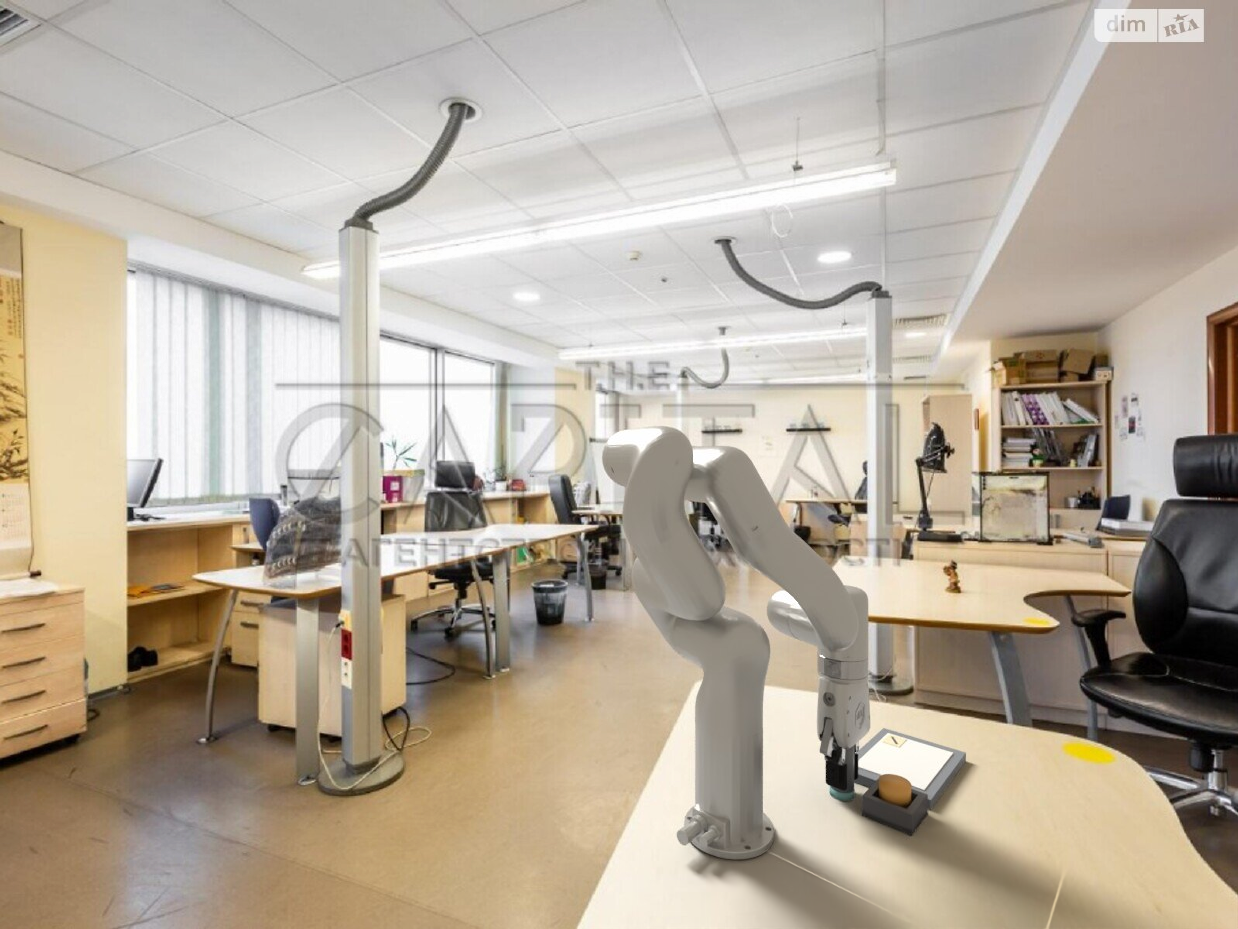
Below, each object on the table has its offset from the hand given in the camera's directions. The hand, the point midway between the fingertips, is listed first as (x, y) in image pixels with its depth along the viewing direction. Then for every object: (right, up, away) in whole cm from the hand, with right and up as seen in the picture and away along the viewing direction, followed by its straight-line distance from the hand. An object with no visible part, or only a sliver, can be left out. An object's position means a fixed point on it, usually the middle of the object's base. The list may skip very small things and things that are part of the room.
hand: (842, 780), depth 95 cm
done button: (+6, 0, -5) cm, 8 cm away
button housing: (+6, -2, -5) cm, 8 cm away
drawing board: (+14, -2, +8) cm, 16 cm away
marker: (0, -2, 0) cm, 2 cm away
